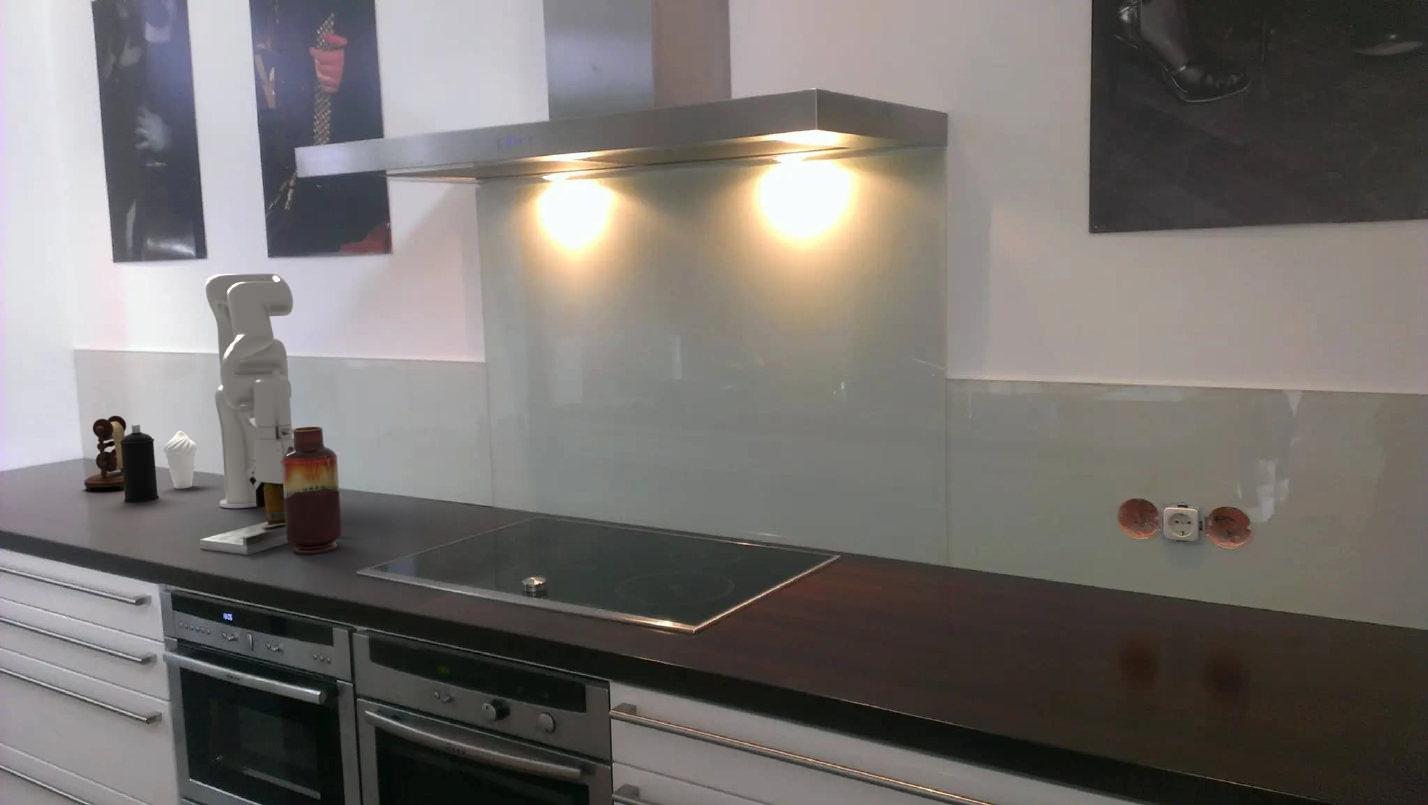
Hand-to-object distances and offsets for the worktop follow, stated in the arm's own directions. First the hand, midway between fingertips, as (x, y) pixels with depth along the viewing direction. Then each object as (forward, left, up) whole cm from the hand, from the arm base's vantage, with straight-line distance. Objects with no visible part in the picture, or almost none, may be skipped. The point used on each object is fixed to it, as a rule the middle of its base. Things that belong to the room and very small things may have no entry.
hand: (278, 508), depth 246 cm
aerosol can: (-17, -68, -6) cm, 70 cm away
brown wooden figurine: (-26, -91, -7) cm, 95 cm away
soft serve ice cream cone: (-33, -72, -6) cm, 79 cm away
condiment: (+1, +1, -4) cm, 4 cm away
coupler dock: (+4, 0, -6) cm, 8 cm away
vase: (+6, +17, -6) cm, 19 cm away
